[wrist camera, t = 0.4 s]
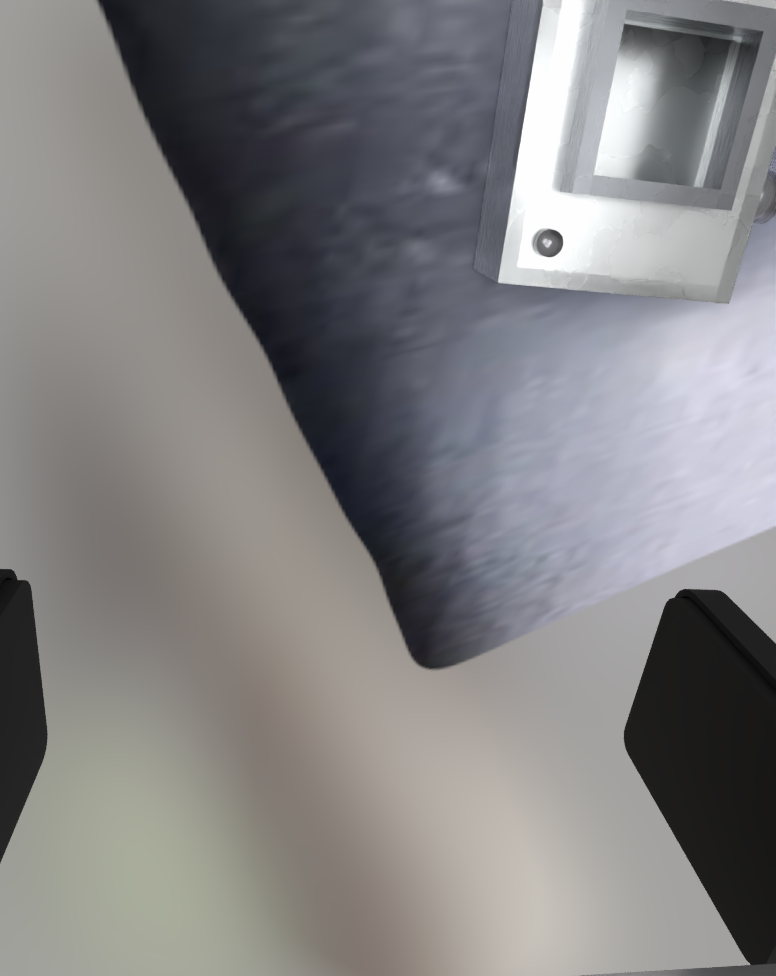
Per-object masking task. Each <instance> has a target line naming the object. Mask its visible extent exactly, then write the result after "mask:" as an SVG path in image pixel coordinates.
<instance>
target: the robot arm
mask: <svg viewBox="0 0 776 976" xmlns="http://www.w3.org/2000/svg"><path fill="white" fill-rule="evenodd" d="M624 742H625V747H626V750H627V752H628V755H629V756H630V758H631V760H632V762H633V764H634V765H635V767H636V769H637V771H638V772H639V774H640V776H641V778H642V779H643V781H644V783H645V785H646V786H647V788H648V790H649V792H650V793H651V795H652V797H653V799H654V800H655V802H656V804H657V806H658V807H659V809H660V811H661V812H662V814H663V816H664V818H665V820H666V821H667V823H668V825H669V827H670V828H671V830H672V832H673V834H674V835H675V837H676V839H677V841H678V842H679V844H680V846H681V848H682V849H683V851H684V853H685V854H686V856H687V858H688V860H689V862H690V863H691V865H692V867H693V868H694V870H695V872H696V874H697V876H698V877H699V879H700V881H701V883H702V884H703V886H704V888H705V890H706V891H707V893H708V895H709V897H710V898H711V900H712V902H713V904H714V905H715V907H716V909H717V911H718V912H719V914H720V916H721V918H722V919H723V921H724V923H725V924H726V926H727V928H728V930H729V931H730V933H731V935H732V937H733V938H734V940H735V942H736V944H737V945H738V947H739V949H740V951H741V952H742V954H743V955H744V957H745V959H746V960H747V961H748V962H749V963H750V964H751V965H745V966H729V967H712V968H695V969H678V970H663V971H645V972H630V973H613V974H598V975H582V976H776V644H775V643H774V642H773V641H772V640H771V639H770V638H769V637H768V636H767V635H766V634H765V633H764V632H763V631H762V630H761V629H760V628H759V627H758V626H757V625H756V624H755V623H754V622H753V621H752V620H751V619H750V618H749V617H748V616H747V615H746V614H745V613H744V612H743V611H742V610H741V609H740V608H739V607H738V606H737V605H736V604H735V603H734V602H733V601H732V600H731V599H730V598H729V597H728V596H727V595H726V594H724V593H723V592H721V591H718V590H697V589H696V590H695V589H694V590H693V589H684V590H681V591H679V592H678V593H677V595H676V596H675V598H672V599H669V601H667V603H666V605H665V607H664V610H663V613H662V616H661V619H660V622H659V625H658V628H657V631H656V634H655V637H654V641H653V644H652V647H651V650H650V653H649V656H648V659H647V662H646V665H645V668H644V671H643V674H642V677H641V680H640V684H639V686H638V690H637V693H636V696H635V699H634V702H633V705H632V708H631V711H630V714H629V717H628V720H627V723H626V726H625V730H624ZM46 745H47V725H46V716H45V707H44V698H43V689H42V680H41V672H40V663H39V653H38V645H37V637H36V627H35V618H34V609H33V600H32V591H31V586H30V584H29V582H28V581H26V580H17V576H16V574H15V573H14V571H13V570H11V569H0V862H1V860H2V858H3V855H4V853H5V850H6V848H7V846H8V843H9V841H10V838H11V836H12V834H13V831H14V829H15V826H16V824H17V821H18V819H19V817H20V814H21V812H22V809H23V807H24V805H25V802H26V800H27V797H28V795H29V793H30V790H31V788H32V785H33V783H34V781H35V778H36V776H37V774H38V771H39V769H40V766H41V764H42V762H43V758H44V755H45V751H46Z"/></svg>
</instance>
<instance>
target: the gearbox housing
mask: <svg viewBox="0 0 776 976" xmlns="http://www.w3.org/2000/svg"><path fill="white" fill-rule="evenodd" d="M775 146H776V0H512V5H511V12H510V18H509V25H508V32H507V39H506V46H505V53H504V60H503V66H502V73H501V80H500V87H499V94H498V101H497V108H496V114H495V121H494V128H493V135H492V142H491V149H490V156H489V162H488V169H487V176H486V183H485V190H484V197H483V204H482V210H481V217H480V224H479V231H478V238H477V245H476V252H475V258H474V265H473V269H474V270H476V271H478V272H479V273H481V274H483V275H485V276H486V277H488V278H490V279H492V280H494V281H495V282H497V283H505V284H516V285H527V286H538V287H549V288H560V289H571V290H582V291H593V292H604V293H615V294H627V295H638V296H649V297H660V298H671V299H682V300H693V301H704V302H715V303H726V304H729V302H730V299H731V295H732V292H733V288H734V285H735V282H736V278H737V275H738V271H739V268H740V265H741V261H742V258H743V255H744V251H745V248H746V244H747V241H748V238H749V234H750V231H751V228H752V224H753V223H765V222H767V221H769V220H770V219H771V218H772V217H773V216H774V215H775V214H776V172H769V171H768V170H769V167H770V163H771V160H772V156H773V153H774V150H775Z"/></svg>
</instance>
